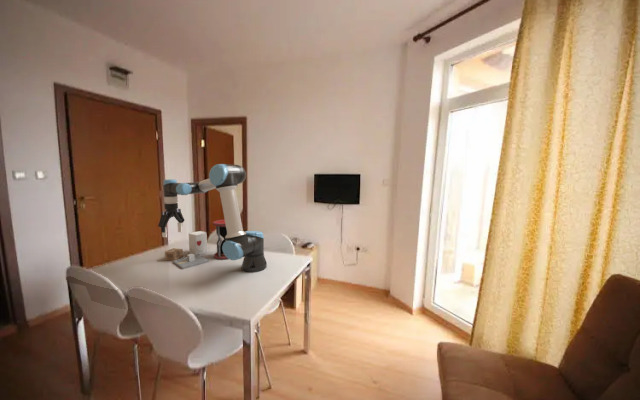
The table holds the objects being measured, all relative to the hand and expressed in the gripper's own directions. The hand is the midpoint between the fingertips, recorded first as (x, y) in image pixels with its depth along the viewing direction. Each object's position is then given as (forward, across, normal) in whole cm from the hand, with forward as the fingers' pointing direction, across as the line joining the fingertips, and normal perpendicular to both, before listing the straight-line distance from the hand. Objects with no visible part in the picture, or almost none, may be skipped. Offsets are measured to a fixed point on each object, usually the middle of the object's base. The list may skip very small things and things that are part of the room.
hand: (172, 234), depth 161 cm
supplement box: (+18, -17, +6) cm, 25 cm away
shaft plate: (+18, +2, +14) cm, 22 cm away
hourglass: (+18, -14, +30) cm, 38 cm away
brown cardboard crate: (+18, -2, -1) cm, 18 cm away
